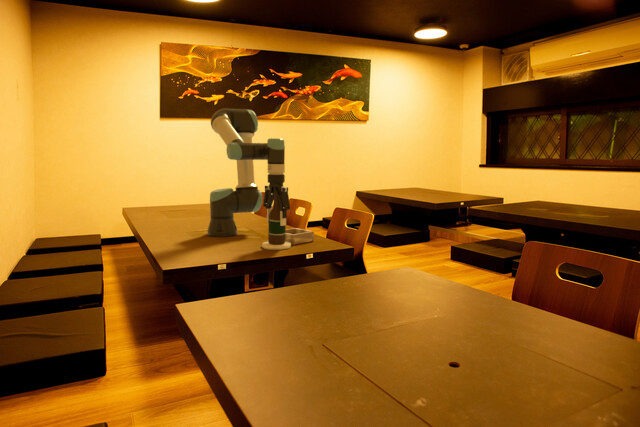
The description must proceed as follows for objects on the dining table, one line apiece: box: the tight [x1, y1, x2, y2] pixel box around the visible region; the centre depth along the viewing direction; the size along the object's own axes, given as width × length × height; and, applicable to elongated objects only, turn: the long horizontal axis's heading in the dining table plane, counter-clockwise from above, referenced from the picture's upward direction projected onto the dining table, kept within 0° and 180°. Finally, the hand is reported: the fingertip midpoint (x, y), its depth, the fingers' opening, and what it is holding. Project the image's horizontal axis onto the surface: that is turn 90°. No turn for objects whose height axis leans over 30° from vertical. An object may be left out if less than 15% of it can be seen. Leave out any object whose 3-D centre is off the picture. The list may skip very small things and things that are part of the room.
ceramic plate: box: [261, 240, 292, 251], centre depth 199 cm, size 13×13×2 cm
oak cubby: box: [285, 227, 315, 246], centre depth 212 cm, size 13×13×4 cm
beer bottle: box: [267, 191, 287, 245], centre depth 196 cm, size 8×8×24 cm
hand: (276, 224), depth 197 cm, fingers open, 9 cm apart
